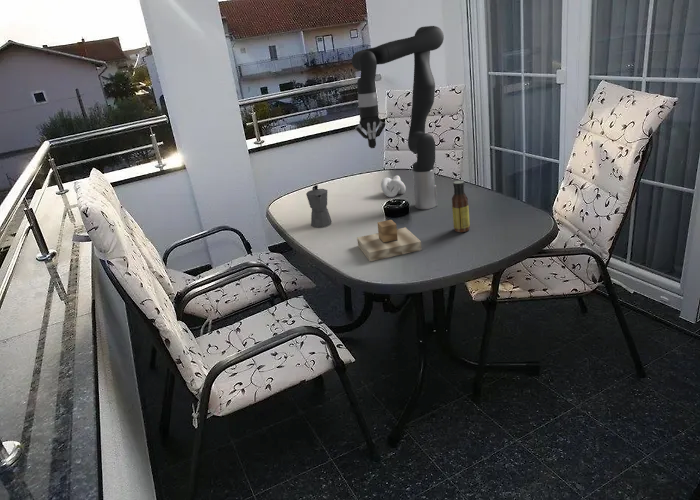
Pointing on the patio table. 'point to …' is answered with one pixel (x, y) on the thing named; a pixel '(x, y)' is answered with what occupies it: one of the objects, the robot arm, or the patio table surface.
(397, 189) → the white knot
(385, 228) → the oak peg
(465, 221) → the sauce bottle
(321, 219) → the coffeepot
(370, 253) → the birch board
